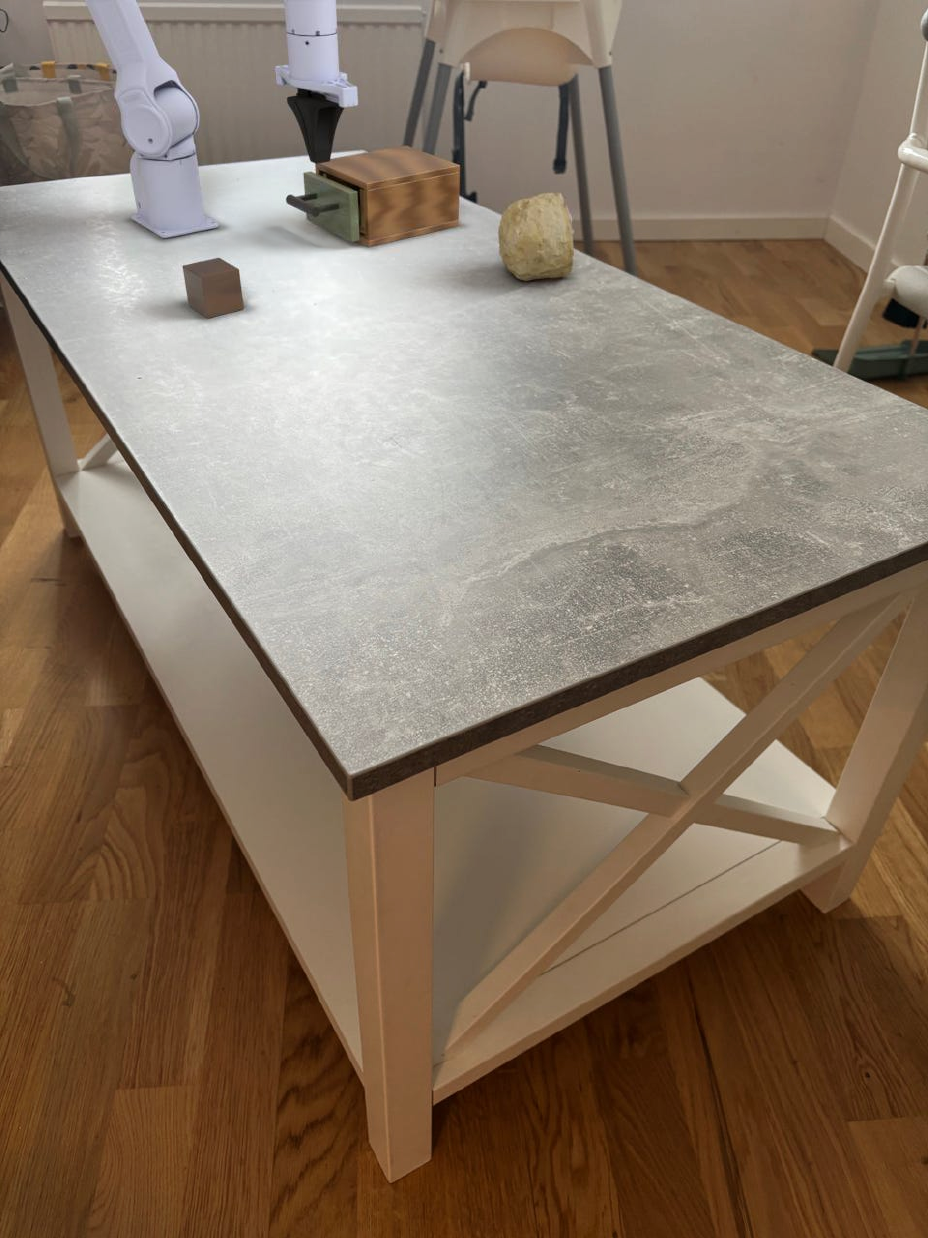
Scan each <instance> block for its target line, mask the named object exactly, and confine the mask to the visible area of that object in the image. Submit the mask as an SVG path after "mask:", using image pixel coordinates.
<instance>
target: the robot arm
mask: <svg viewBox="0 0 928 1238" xmlns="http://www.w3.org/2000/svg"><path fill="white" fill-rule="evenodd" d="M84 3H85V5H86V7H87V9H88V11H89V14H90V16H91V18H92V21H93V23H94V25H95V27H96V29H97V31H98V34H99V36H100V38H101V40H102V43H103V45H104V47H105V50H106V52H107V53H108V54H107V55H108V57H109V59H110V60H111V63H112V65H113V68H114V70H115V72H116V78H115V84H114V85H115V86H114V92H113V93H114V99H115V102H116V103H117V106H118V108H119V112H120V125H121V130H122V133H123V135H124V136H123V137H124V138H125V140H126V142H127V143H128V144H129V146H130V147H131V148H132V149H133V150H134V152H133V153H132V155H131V158H130V161H129V173H130V178H131V183H132V184H131V185H132V189H133V195H134V199H135V205H136V211H137V213H136V214H132V215H131V220H132V221H134V222H136V223H137V224H139V225H140V226H142V227H144V228H145V229H147V230H149V231H150V232H151V233H154V234H155V235H157V236H159V237H160V238H162V239H168V238H174V237H178V236H183V235H188V234H192V233H197V232H201V231H208V230H213V229H217V228H219V227H220V222H218V221H215V220H214V219H212V218H210V217H208V216H207V215H206V210H205V205H204V204H205V203H204V197H203V189H202V184H201V176H200V167H199V161H198V154H197V147H196V144H195V140H194V135H195V134H196V133H197V131H198V129H199V126H200V121H201V116H200V110H199V109H200V108H199V107H198V103H197V102H196V101H195V99H194V97H193V96H192V94H191V93H189V91H188V90H187V89H186V88H185V87H184V85H182V83H181V81H180V78H179V77H178V74H177V72H176V70H175V69H174V68H173V67H172V66H171V65H169V64H168V62H166V61H165V60H164V59H163V58H162V56H160V54H159V51H158V50H157V47H156V45H155V42H154V40H153V37H152V35H151V33H150V30H149V28H148V26H147V24H146V21H145V19H144V16H143V14H142V12H141V9H140V7H139V5H138V2H137V0H84ZM283 5H284V6H283V7H284V17H285V19H284V20H285V30H286V45H287V56H288V58H287V59H288V64H285V65H275V66H274V68H275V69H274V71H275V72H274V73H275V82H276V85H278V86H288V87H289V88H290V87H291V88H293V89H296V90H297V92H296V93H295V95H290V96H287V97H286V104H287V105H288V107H289V108H290V110H291V112H292V113H293V116H294V118H295V120H296V122H297V124H298V127H299V130H300V133H301V134H302V135H301V136H302V139H303V141H304V144H305V148H306V151H307V156H308V158H309V161H310V163H313V164H314V165H315V164H319V163H324V162H330V159H332V151H333V146H334V140H335V135H336V131H337V128H338V124H339V122H340V119H341V116H342V115H343V112H344V110H345V108H348V107H349V108H350V107H357V106H359V97H358V96H359V95H358V94H359V93H358V86H356V85H354V84H352V83H350V82H349V81H348V74H347V73H346V72H343V71H340V59H339V58H340V57H339V40H338V39H339V38H338V17H337V15H338V14H337V0H283Z"/></svg>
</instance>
